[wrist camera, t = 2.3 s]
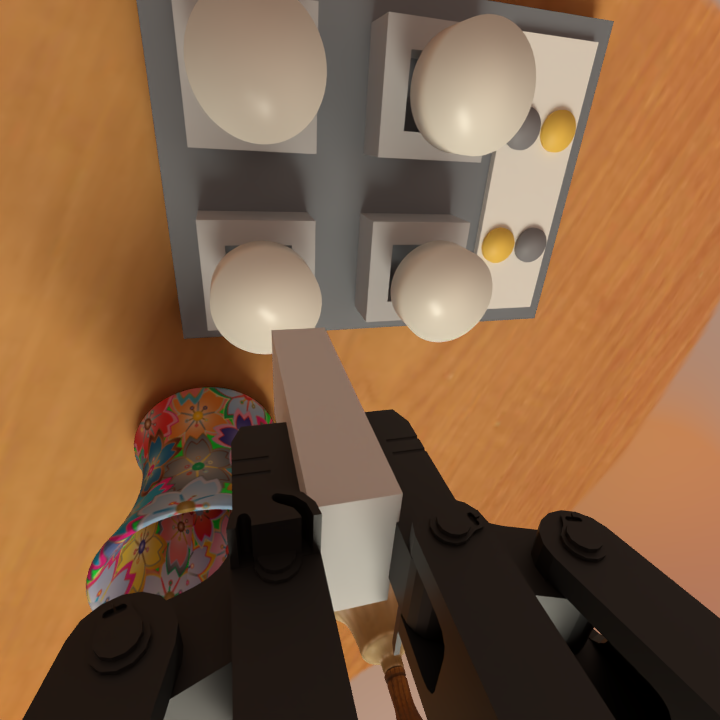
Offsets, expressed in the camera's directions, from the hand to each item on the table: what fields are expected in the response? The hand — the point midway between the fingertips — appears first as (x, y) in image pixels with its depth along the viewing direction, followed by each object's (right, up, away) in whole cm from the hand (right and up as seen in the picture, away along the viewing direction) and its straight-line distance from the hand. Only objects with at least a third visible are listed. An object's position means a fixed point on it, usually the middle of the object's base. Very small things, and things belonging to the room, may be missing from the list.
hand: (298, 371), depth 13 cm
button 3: (+5, +5, +10) cm, 12 cm away
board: (+3, +10, +11) cm, 15 cm away
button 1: (-3, +4, +8) cm, 10 cm away
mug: (-9, -6, +16) cm, 19 cm away
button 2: (-2, +11, +4) cm, 12 cm away
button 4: (+5, +12, +6) cm, 15 cm away
